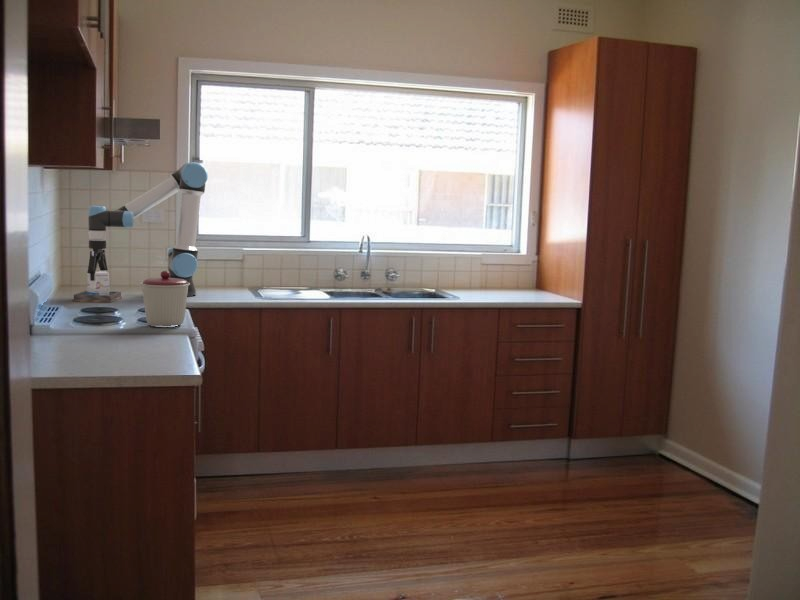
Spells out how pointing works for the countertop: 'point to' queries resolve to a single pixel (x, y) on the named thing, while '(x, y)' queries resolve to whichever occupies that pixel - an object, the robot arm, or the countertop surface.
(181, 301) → the canister
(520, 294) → the countertop surface
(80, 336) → the countertop surface
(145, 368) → the countertop surface
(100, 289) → the ink box
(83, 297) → the brown shallow square tray
